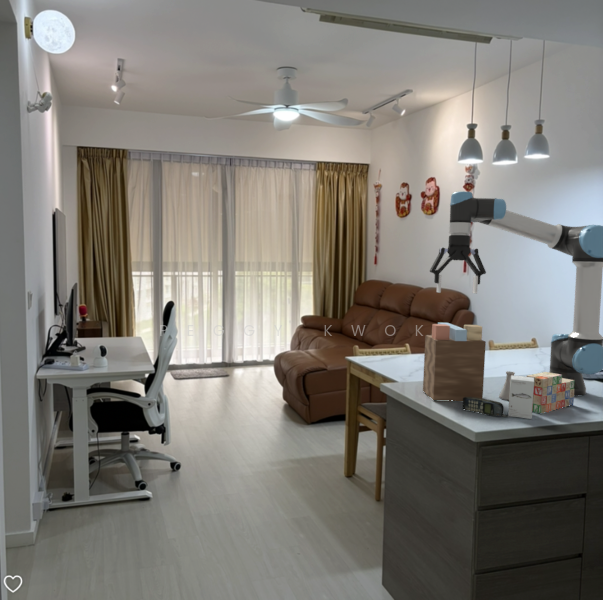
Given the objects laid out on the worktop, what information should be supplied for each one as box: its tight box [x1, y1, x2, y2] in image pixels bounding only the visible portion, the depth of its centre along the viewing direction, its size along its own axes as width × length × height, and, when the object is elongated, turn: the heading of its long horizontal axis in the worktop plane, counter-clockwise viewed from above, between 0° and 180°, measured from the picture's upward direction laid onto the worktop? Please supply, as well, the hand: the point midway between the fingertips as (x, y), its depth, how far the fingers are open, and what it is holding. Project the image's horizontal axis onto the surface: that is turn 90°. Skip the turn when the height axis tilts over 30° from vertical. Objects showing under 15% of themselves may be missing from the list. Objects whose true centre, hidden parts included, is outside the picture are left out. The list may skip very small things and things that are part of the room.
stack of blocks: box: [525, 371, 575, 414], centre depth 198 cm, size 21×6×12 cm, turn 127°
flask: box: [498, 370, 516, 401], centre depth 209 cm, size 7×7×10 cm
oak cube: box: [463, 324, 483, 340], centre depth 206 cm, size 5×5×5 cm
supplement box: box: [507, 375, 534, 420], centre depth 187 cm, size 7×7×13 cm
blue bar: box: [437, 322, 467, 341], centre depth 212 cm, size 22×4×4 cm, turn 3°
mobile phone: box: [462, 397, 509, 418], centre depth 188 cm, size 5×3×15 cm
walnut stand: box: [422, 334, 486, 402], centre depth 209 cm, size 14×18×22 cm
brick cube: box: [431, 323, 450, 340], centre depth 206 cm, size 5×5×5 cm
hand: (456, 293), depth 207 cm, fingers open, 13 cm apart
